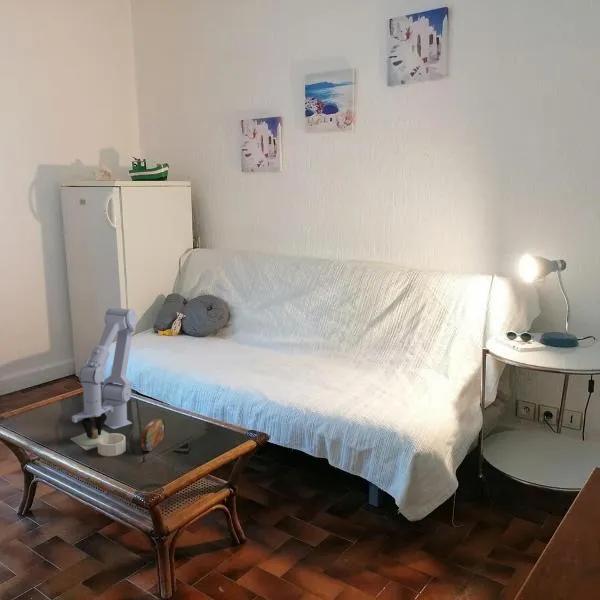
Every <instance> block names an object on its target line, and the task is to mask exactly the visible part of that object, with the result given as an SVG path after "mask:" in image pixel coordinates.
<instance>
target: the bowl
mask: <svg viewBox="0 0 600 600" xmlns="http://www.w3.org/2000/svg"><path fill="white" fill-rule="evenodd" d="M126 442H127V441H126V436H125V435H124V434H122V433H117V432H116V433H112V432H111V433H109V434H106V435H103V436H101V437H100V438H98V447H97V454H99V455H101V456H104V457H115V456H119V455H121V454H123V453H125V452H126V450H127V448H126V447H127V446H126V445H127V444H126Z"/></svg>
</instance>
